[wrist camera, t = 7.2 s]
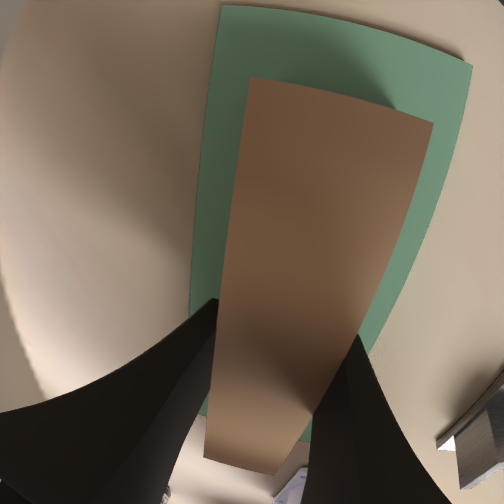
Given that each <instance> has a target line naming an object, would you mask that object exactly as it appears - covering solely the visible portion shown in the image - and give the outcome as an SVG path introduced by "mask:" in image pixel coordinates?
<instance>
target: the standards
mask: <svg viewBox="0 0 504 504" xmlns="http://www.w3.org/2000/svg"><path fill="white" fill-rule="evenodd" d="M436 447H437V450H456V456H457V464H458V473H459V484H460V490H462V489H471V488H473V487H474V486H476V485H477V484H479V483H480V482H482V481H483V480H485V479H486V478H488V477H489V476H490V475H492V474H493V473H495V472H496V471H497V470H503V469H504V370H503V372H502V373H501V374H500V375H499V377H498V378H497V379H496V380H495V381H494V383H493V384H492V385H491V386H490V387H489V388H488V390H487V391H486V392H485V393H484V394H483V395H482V396H481V397H480V399H479V400H478V401H477V402H476V403H475V404H474V405H473V406H472V407H471V408H470V409H469V410H468V411H467V412H466V413H465V414H464V415H463V417H462V418H461V419H460V420H459V421H458V422H456V423H455V424H454V425H453V426H452V427H451V428H450V429H449V430H448V431H447V432H446V433H445V434H444V435H443V436H442V437H441V438H440V439H438V440H437V441H436Z"/></svg>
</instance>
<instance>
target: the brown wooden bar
mask: <svg viewBox="0 0 504 504" xmlns="http://www.w3.org/2000/svg"><path fill="white" fill-rule="evenodd" d="M433 126H434V123H432V122H430V121H427V120H424V119H421V118H419V117H416V116H413V115H410V114H407V113H404V112H401V111H398V110H395V109H392V108H389V107H386V106H382V105H379V104H376V103H372V102H369V101H365V100H362V99H358V98H354V97H350V96H346V95H343V94H339V93H334V92H330V91H326V90H321V89H317V88H312V87H308V86H303V85H298V84H292V83H287V82H281V81H276V80H270V79H263V78H256V77H250V83H249V89H248V96H247V102H246V108H245V115H244V121H243V128H242V135H241V141H240V148H239V155H238V162H237V169H236V176H235V183H234V190H233V197H232V204H231V212H230V219H229V227H228V235H227V242H226V250H225V258H224V266H223V274H222V282H221V290H220V299H219V307H218V316H217V325H216V327H217V331H216V340H215V349H214V358H213V367H212V376H211V386H210V390H209V401H208V411H207V422H206V432H205V444H204V455H203V457H204V458H207V459H210V460H214V461H217V462H220V463H224V464H227V465H231V466H235V467H239V468H242V469H246V470H251V471H255V472H259V473H263V474H268V475H273V476H274V475H275V474H276V472H277V471H278V469H279V468H280V467H281V465H282V464H283V462H284V461H285V459H286V458H287V456H288V455H289V453H290V452H291V450H292V448H293V447H294V445H295V444H296V442H297V441H298V439H299V437H300V436H301V434H302V433H303V431H304V429H305V428H306V426H307V425H308V423H309V421H310V420H311V418H312V416H313V414H314V412H315V410H316V408H317V407H318V405H319V403H320V402H321V400H322V398H323V396H324V395H325V393H326V391H327V389H328V387H329V386H330V384H331V382H332V380H333V378H334V376H335V375H336V373H337V371H338V369H339V367H340V365H341V363H342V361H343V359H345V357H346V355H347V353H348V351H349V349H350V347H351V345H352V343H353V341H354V339H355V337H356V335H357V333H358V331H359V329H360V327H361V324H362V322H363V320H364V318H365V316H366V314H367V312H368V309H369V307H370V305H371V303H372V301H373V298H374V296H375V294H376V291H377V289H378V287H379V285H380V282H381V280H382V277H383V275H384V273H385V270H386V268H387V265H388V263H389V260H390V258H391V255H392V253H393V250H394V248H395V245H396V243H397V240H398V237H399V235H400V232H401V229H402V226H403V224H404V221H405V218H406V215H407V212H408V209H409V207H410V204H411V201H412V198H413V195H414V192H415V188H416V185H417V182H418V179H419V176H420V172H421V169H422V166H423V162H424V159H425V155H426V152H427V148H428V145H429V141H430V137H431V133H432V130H433Z"/></svg>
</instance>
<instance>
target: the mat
mask: <svg viewBox="0 0 504 504" xmlns="http://www.w3.org/2000/svg"><path fill="white" fill-rule="evenodd" d="M472 68H473V65H471V64H469V63H466V62H464V61H462V60H460V59H458V58H455V57H453V56H451V55H449V54H446V53H444V52H441V51H439V50H436V49H434V48H431V47H429V46H426V45H424V44H421V43H418V42H415V41H413V40H410V39H407V38H404V37H401V36H398V35H395V34H392V33H388V32H385V31H382V30H378V29H375V28H371V27H368V26H364V25H360V24H356V23H352V22H348V21H343V20H339V19H334V18H330V17H325V16H319V15H314V14H308V13H302V12H296V11H289V10H282V9H273V8H264V7H253V6H239V5H222V8H221V14H220V19H219V25H218V31H217V37H216V43H215V49H214V56H213V62H212V69H211V76H210V83H209V90H208V98H207V105H206V113H205V121H204V130H203V138H202V147H201V157H200V166H199V176H198V187H197V198H196V210H195V222H194V235H193V250H192V266H191V284H190V305H189V317H191V316H192V315H193V314H194V313H195V312H196V311H197V310H198V309H199V308H201V307H202V306H203V305H204V304H205V303H206V302H207V301H208V300H209V299H211V298H216V299H220V290H221V282H222V274H223V266H224V258H225V250H226V242H227V235H228V227H229V219H230V212H231V204H232V197H233V190H234V183H235V176H236V169H237V162H238V155H239V148H240V141H241V135H242V128H243V121H244V115H245V108H246V102H247V96H248V89H249V83H250V77H256V78H263V79H270V80H276V81H281V82H287V83H292V84H298V85H303V86H308V87H312V88H317V89H321V90H326V91H330V92H334V93H339V94H343V95H346V96H350V97H354V98H358V99H362V100H365V101H369V102H372V103H376V104H379V105H382V106H386V107H389V108H392V109H395V110H398V111H401V112H404V113H407V114H410V115H413V116H416V117H419V118H421V119H424V120H427V121H430V122H432V123H434V126H433V130H432V133H431V137H430V141H429V145H428V148H427V152H426V155H425V159H424V162H423V166H422V169H421V172H420V176H419V179H418V182H417V185H416V188H415V192H414V195H413V198H412V201H411V204H410V207H409V209H408V212H407V215H406V218H405V221H404V224H403V226H402V229H401V232H400V235H399V237H398V240H397V243H396V245H395V248H394V250H393V253H392V255H391V258H390V260H389V263H388V265H387V268H386V270H385V273H384V275H383V277H382V280H381V282H380V285H379V287H378V289H377V291H376V294H375V296H374V298H373V301H372V303H371V305H370V307H369V309H368V312H367V314H366V316H365V318H364V320H363V322H362V324H361V327H360V329H359V331H358V333H357V334H359V336H360V338H361V340H362V343H363V345H364V348H365V350H366V353H367V355H368V354H369V352H370V350H371V349H372V347H373V345H374V343H375V341H376V339H377V337H378V336H379V334H380V332H381V330H382V328H383V326H384V324H385V322H386V320H387V318H388V316H389V314H390V312H391V310H392V308H393V306H394V304H395V302H396V300H397V298H398V296H399V294H400V292H401V290H402V288H403V285H404V283H405V281H406V279H407V277H408V274H409V272H410V270H411V268H412V265H413V263H414V261H415V258H416V256H417V254H418V251H419V249H420V246H421V244H422V241H423V239H424V236H425V234H426V231H427V229H428V226H429V224H430V221H431V218H432V216H433V213H434V210H435V207H436V205H437V202H438V199H439V196H440V193H441V190H442V187H443V184H444V181H445V178H446V175H447V172H448V168H449V165H450V162H451V158H452V155H453V151H454V148H455V144H456V141H457V137H458V133H459V129H460V125H461V121H462V117H463V113H464V109H465V104H466V100H467V95H468V90H469V85H470V80H471V74H472ZM208 401H209V392H208V394H207V396H206V398H205V400H204V402H203V404H202V406H201V408H200V410H199V412H198V414H200V415H203V416H206V417H207V411H208ZM312 417H313V416H312ZM311 430H312V418H311V420H310V421H309V423H308V425H307V426H306V428H305V429H304V431H303V433H302V434H301V436H300V437H299V439H298V440H300V441H306V442H311Z"/></svg>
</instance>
